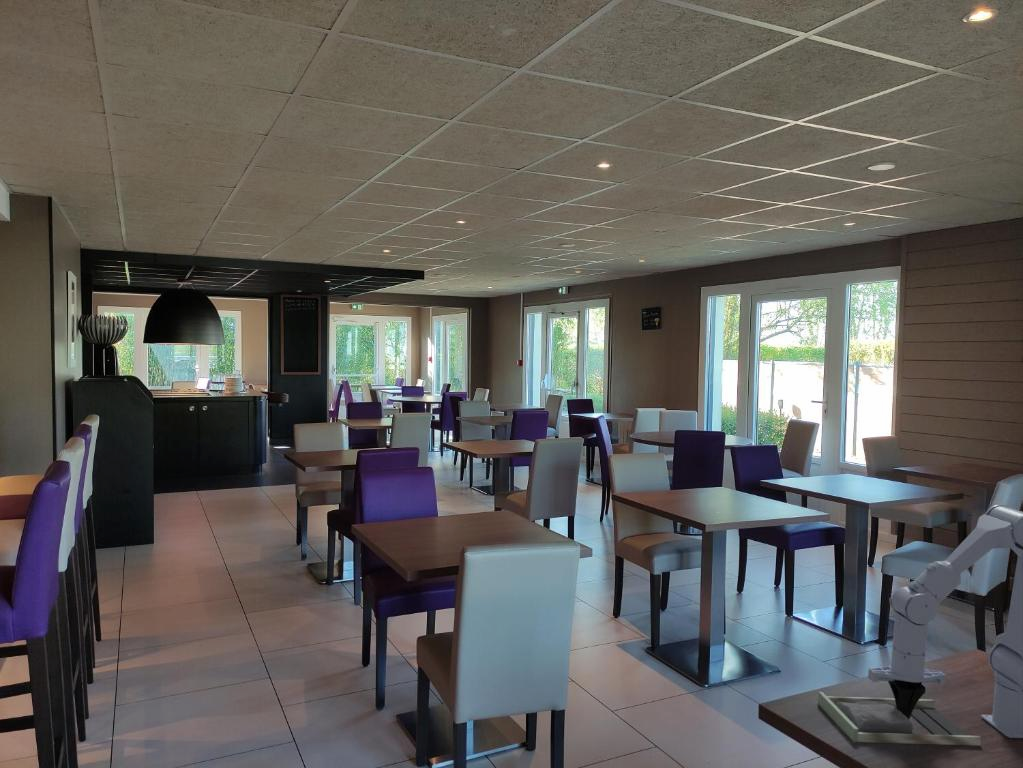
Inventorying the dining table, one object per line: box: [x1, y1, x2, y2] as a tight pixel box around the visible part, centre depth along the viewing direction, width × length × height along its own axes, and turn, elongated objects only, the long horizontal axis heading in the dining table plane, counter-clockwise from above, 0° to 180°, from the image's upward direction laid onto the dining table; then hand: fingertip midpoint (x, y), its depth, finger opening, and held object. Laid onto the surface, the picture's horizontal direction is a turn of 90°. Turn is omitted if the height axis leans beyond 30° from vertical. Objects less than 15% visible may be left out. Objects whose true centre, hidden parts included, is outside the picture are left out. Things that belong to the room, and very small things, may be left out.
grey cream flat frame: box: [826, 695, 982, 746], centre depth 142 cm, size 24×14×2 cm, turn 92°
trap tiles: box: [910, 707, 969, 736], centre depth 142 cm, size 7×12×1 cm, turn 2°
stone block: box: [836, 701, 914, 734], centre depth 141 cm, size 12×5×10 cm
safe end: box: [817, 691, 859, 743], centre depth 141 cm, size 1×14×2 cm, turn 2°
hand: (903, 716), depth 142 cm, fingers closed
